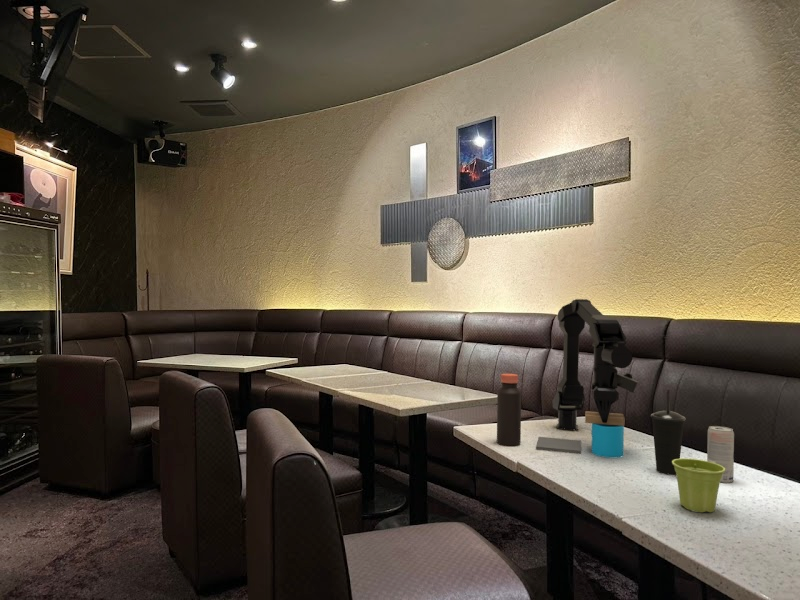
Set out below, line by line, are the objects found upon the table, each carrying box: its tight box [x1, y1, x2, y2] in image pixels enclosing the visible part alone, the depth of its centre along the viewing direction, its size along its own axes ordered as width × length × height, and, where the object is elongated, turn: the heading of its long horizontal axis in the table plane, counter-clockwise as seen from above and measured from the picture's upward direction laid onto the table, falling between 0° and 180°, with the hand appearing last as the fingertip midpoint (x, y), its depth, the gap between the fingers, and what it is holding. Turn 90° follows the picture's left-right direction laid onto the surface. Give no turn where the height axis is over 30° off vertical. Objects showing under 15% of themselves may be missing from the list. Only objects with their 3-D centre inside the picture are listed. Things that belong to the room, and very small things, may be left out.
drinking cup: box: [650, 389, 686, 476], centre depth 133 cm, size 8×8×20 cm
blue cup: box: [590, 423, 625, 458], centre depth 150 cm, size 12×8×8 cm
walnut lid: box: [584, 410, 626, 427], centre depth 150 cm, size 6×10×2 cm, turn 71°
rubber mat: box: [535, 436, 582, 455], centre depth 155 cm, size 12×12×1 cm
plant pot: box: [672, 458, 725, 513], centre depth 109 cm, size 9×9×9 cm
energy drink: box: [706, 425, 735, 484], centre depth 127 cm, size 5×5×12 cm
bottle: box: [496, 373, 522, 447], centre depth 157 cm, size 7×7×20 cm
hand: (604, 420), depth 150 cm, fingers closed on walnut lid, 6 cm apart
